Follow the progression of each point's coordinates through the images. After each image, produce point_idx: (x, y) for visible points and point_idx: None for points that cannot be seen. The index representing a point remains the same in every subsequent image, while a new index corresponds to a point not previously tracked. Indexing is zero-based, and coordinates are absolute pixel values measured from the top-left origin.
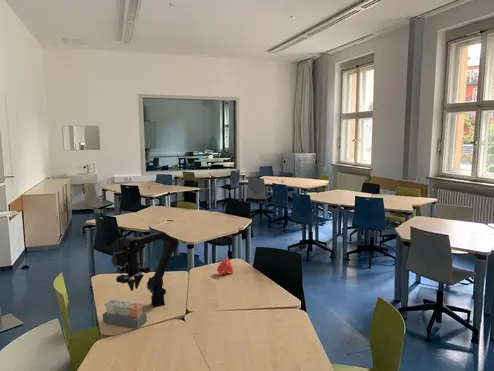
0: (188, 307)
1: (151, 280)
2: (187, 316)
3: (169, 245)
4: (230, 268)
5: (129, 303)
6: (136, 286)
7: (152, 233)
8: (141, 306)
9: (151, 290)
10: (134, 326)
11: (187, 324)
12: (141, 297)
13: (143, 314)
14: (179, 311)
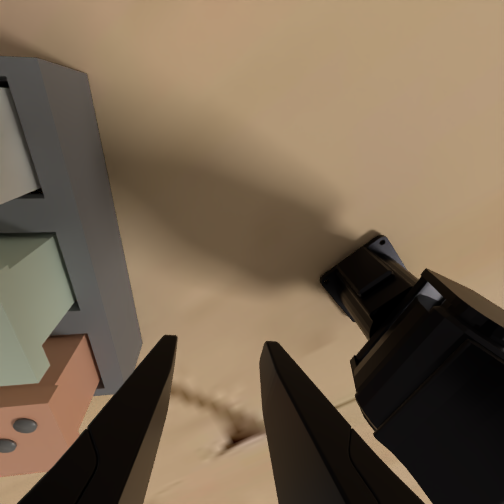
0: (340, 411)
1: (489, 448)
2: (260, 442)
3: None
4: None
5: (1, 378)
6: (267, 391)
7: None
8: (47, 464)
9: (372, 363)
10: None
11: (199, 468)
12: (468, 96)
13: (95, 393)
14: None
